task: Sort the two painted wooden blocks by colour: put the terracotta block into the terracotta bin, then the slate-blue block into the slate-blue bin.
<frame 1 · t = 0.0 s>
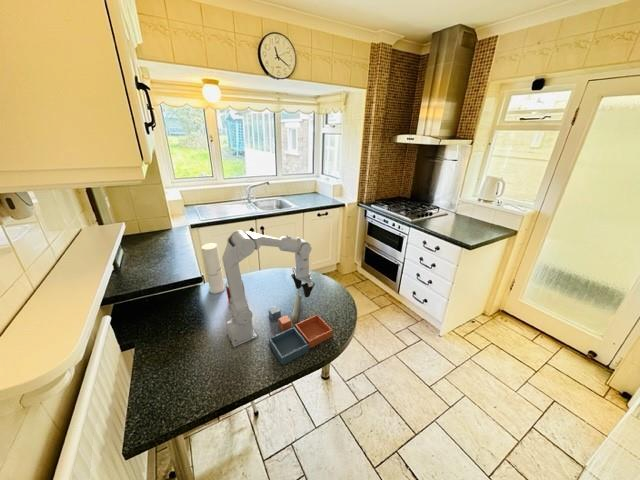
hand: (302, 292, 115), 10 cm above the table, tool pointing down, fingers open, 7 cm apart
kitchen whisk: (299, 301, 125), on the table
cylindrical container: (217, 289, 134), on the table
slate bin: (288, 348, 99), on the table
slate block: (275, 317, 114), on the table
terracotta block: (285, 326, 109), on the table
terracotta bin: (313, 333, 106), on the table
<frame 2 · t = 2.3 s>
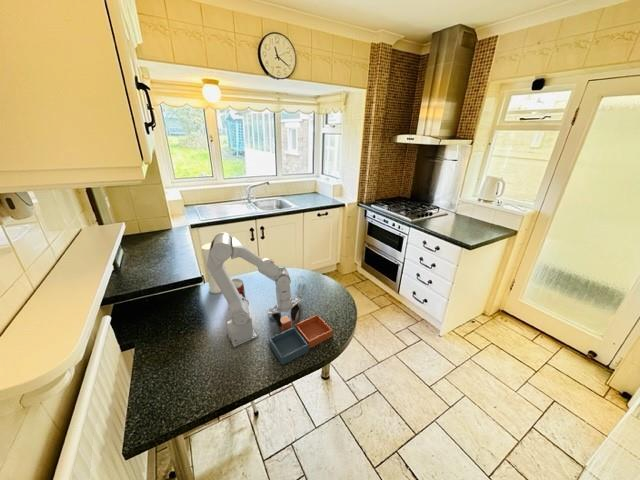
hand: (286, 322, 108), 2 cm above the table, tool pointing down, fingers open, 6 cm apart
kitchen whisk: (299, 301, 125), on the table, touching gripper
everything else where it was.
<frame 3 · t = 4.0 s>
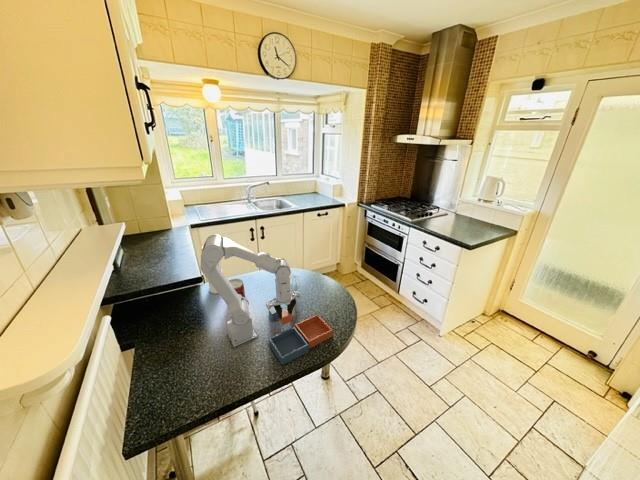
hand: (284, 315, 106), 6 cm above the table, tool pointing down, fingers closed on terracotta block, 4 cm apart
kitchen whisk: (297, 299, 125), point 1 cm above the table
terracotta block: (284, 320, 108), point 3 cm above the table, touching gripper
everything else where it was.
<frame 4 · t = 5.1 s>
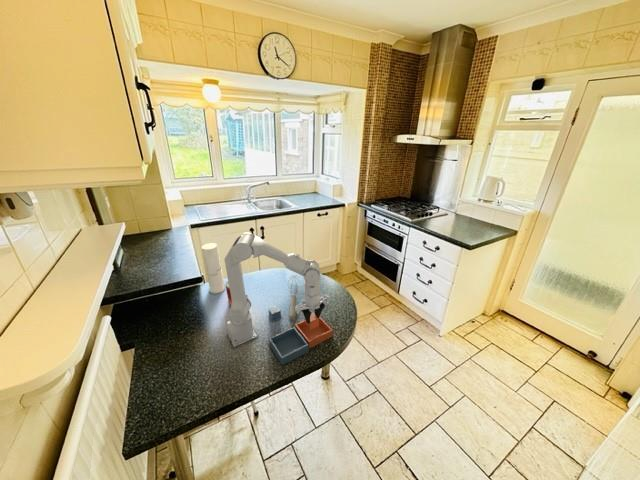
hand: (312, 320, 103), 7 cm above the table, tool pointing down, fingers closed on terracotta block, 4 cm apart
terracotta block: (312, 324, 104), point 4 cm above the table, touching gripper
everything else where it was.
when the fingers open (3 cm above the table, at t = 6.5 s): terracotta block stays where it is, resting on terracotta bin.
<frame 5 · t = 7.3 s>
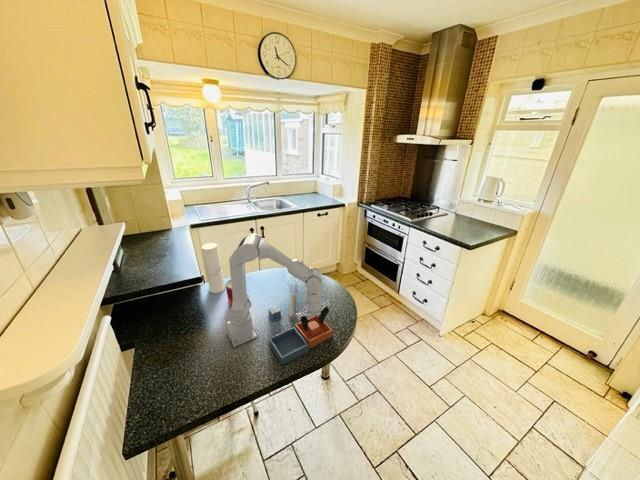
hand: (313, 326, 104), 4 cm above the table, tool pointing down, fingers open, 7 cm apart
terracotta block: (313, 332, 105), resting on terracotta bin
everything else where it was.
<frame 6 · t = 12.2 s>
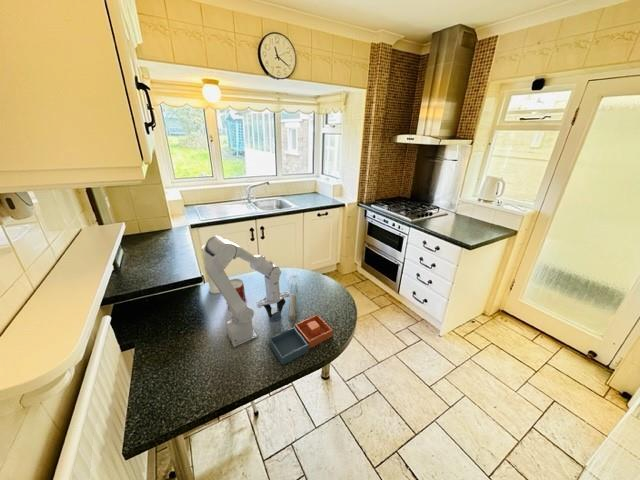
hand: (274, 314, 114), 1 cm above the table, tool pointing down, fingers closed on slate block, 4 cm apart
slate block: (274, 317, 114), on the table, touching gripper
everything else where it was.
when the fingers open (2 cm above the table, at t = 16.5 s): slate block stays where it is, resting on slate bin.
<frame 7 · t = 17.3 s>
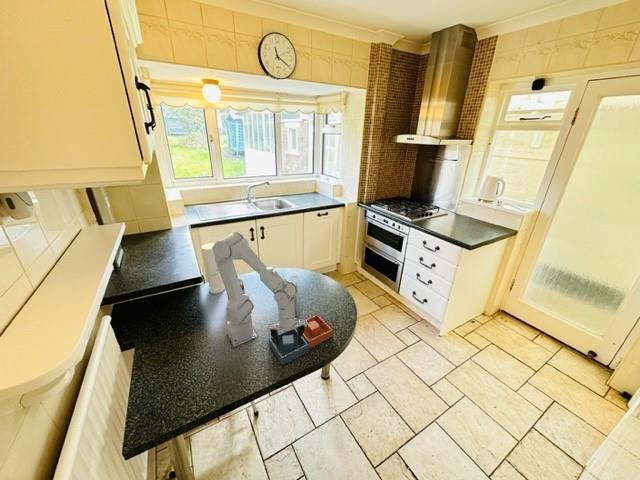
hand: (288, 342, 97), 3 cm above the table, tool pointing down, fingers open, 7 cm apart
slate block: (288, 347, 98), resting on slate bin
everything else where it was.
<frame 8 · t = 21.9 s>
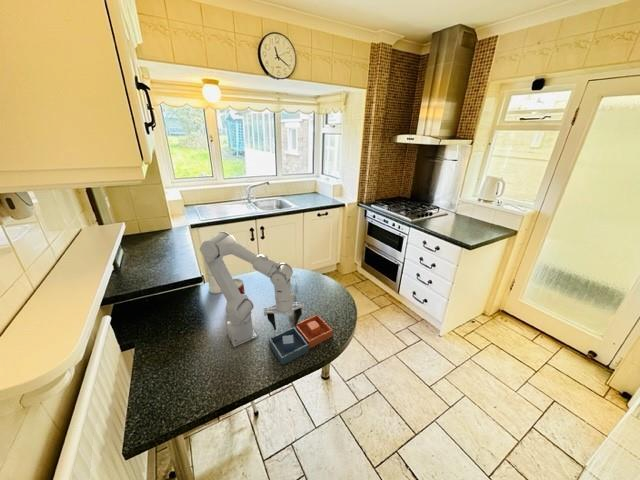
hand: (285, 326, 96), 9 cm above the table, tool pointing down, fingers open, 7 cm apart
nothing on the table moved.
at the end: terracotta block inside the target area in the terracotta bin (0.2 cm from its centre), point 0.5 cm above the terracotta bin's base; slate block inside the target area in the slate bin (0.0 cm from its centre), point 0.5 cm above the slate bin's base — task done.
